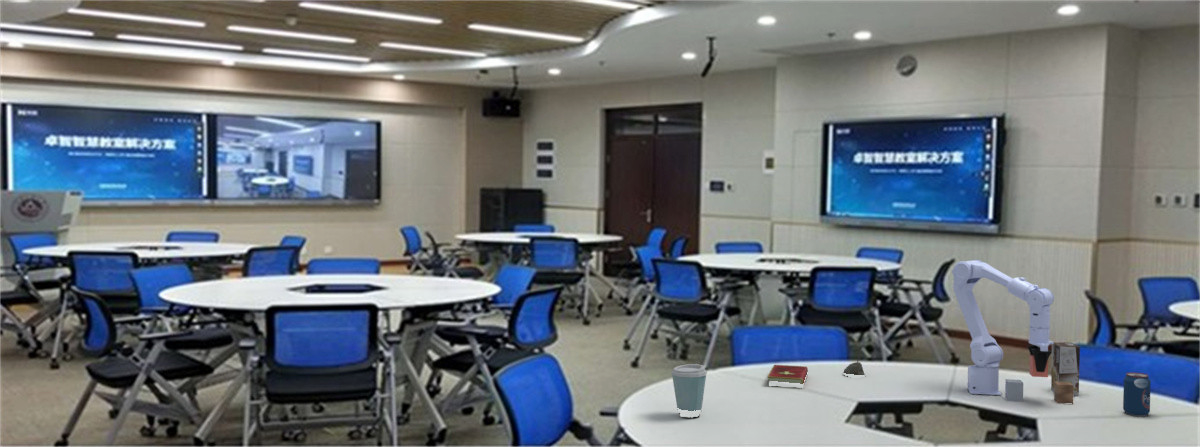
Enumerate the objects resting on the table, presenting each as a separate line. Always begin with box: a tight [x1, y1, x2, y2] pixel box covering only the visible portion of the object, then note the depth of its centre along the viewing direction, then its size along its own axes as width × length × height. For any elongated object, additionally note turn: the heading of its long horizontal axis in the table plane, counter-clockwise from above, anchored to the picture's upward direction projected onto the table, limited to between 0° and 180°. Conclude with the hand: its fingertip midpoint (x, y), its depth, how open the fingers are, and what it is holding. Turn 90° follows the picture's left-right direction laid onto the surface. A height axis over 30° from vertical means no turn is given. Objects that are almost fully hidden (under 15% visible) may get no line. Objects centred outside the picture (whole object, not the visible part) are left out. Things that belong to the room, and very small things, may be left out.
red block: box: [1028, 354, 1049, 378], centre depth 287 cm, size 4×4×6 cm
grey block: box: [1004, 378, 1024, 402], centre depth 292 cm, size 4×4×6 cm
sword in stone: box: [843, 345, 866, 376], centre depth 328 cm, size 10×8×12 cm
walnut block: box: [1053, 381, 1074, 405], centre depth 288 cm, size 4×4×6 cm
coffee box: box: [1050, 341, 1081, 397], centre depth 301 cm, size 9×6×16 cm
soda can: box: [1122, 371, 1151, 417], centre depth 273 cm, size 7×7×12 cm
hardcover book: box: [767, 364, 809, 384], centre depth 319 cm, size 12×21×4 cm, turn 163°
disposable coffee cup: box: [671, 363, 708, 411], centre depth 273 cm, size 11×11×15 cm
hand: (1038, 370), depth 287 cm, fingers closed on red block, 4 cm apart
